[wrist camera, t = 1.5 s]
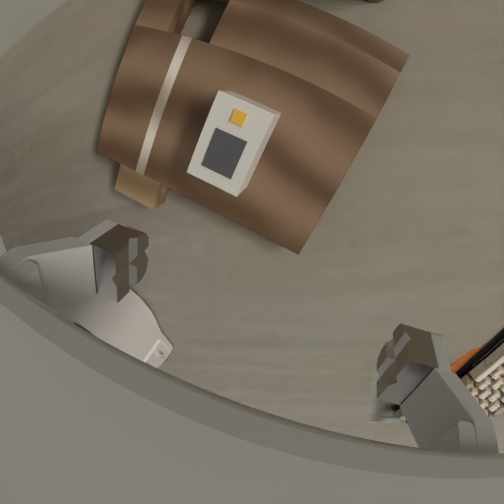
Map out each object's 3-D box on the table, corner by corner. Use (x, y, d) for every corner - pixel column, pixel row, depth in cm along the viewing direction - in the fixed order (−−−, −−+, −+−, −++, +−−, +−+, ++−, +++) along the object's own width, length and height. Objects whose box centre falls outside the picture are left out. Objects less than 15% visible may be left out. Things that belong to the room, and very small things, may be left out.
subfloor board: (287, 266, 32) (283, 278, 30) (105, 171, 32) (91, 177, 30) (415, 33, 19) (422, 27, 16) (184, -46, 19) (173, -54, 17)
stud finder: (246, 186, 26) (236, 197, 24) (201, 164, 27) (185, 172, 24) (281, 113, 23) (274, 114, 20) (231, 91, 23) (217, 90, 20)
